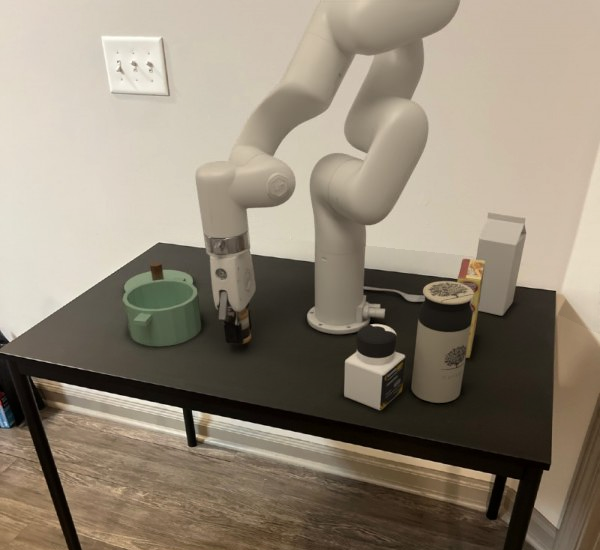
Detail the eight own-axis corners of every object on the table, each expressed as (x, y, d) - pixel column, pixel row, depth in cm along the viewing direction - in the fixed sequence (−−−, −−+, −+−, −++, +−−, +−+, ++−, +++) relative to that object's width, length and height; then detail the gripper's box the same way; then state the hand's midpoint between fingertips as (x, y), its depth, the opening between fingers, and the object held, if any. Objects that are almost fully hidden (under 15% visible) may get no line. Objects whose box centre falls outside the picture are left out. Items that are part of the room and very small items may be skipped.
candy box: (470, 359, 109) (483, 279, 100) (446, 356, 110) (457, 276, 101) (474, 336, 116) (486, 259, 107) (451, 333, 117) (462, 257, 108)
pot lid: (203, 277, 141) (200, 253, 138) (178, 305, 129) (174, 280, 125) (142, 272, 144) (138, 248, 140) (113, 299, 132) (107, 274, 128)
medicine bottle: (380, 412, 96) (385, 346, 89) (343, 397, 100) (344, 332, 93) (402, 391, 101) (408, 327, 94) (366, 377, 104) (369, 315, 97)
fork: (337, 281, 137) (337, 274, 136) (442, 301, 128) (443, 293, 127) (331, 286, 135) (331, 279, 134) (437, 307, 126) (438, 299, 125)
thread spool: (254, 333, 114) (251, 306, 110) (247, 345, 110) (244, 318, 107) (231, 331, 115) (228, 305, 111) (224, 343, 111) (220, 316, 108)
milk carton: (502, 316, 122) (520, 223, 111) (468, 309, 125) (482, 217, 114) (512, 303, 127) (530, 213, 116) (479, 296, 130) (493, 207, 119)
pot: (215, 310, 127) (211, 276, 122) (180, 357, 111) (175, 320, 107) (153, 304, 129) (147, 271, 125) (110, 349, 114) (102, 313, 109)
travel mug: (403, 381, 103) (413, 283, 93) (447, 374, 105) (461, 277, 94) (422, 407, 97) (434, 305, 86) (468, 400, 98) (485, 298, 88)
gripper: (233, 262, 94) (245, 361, 105) (262, 223, 107) (270, 315, 118) (188, 260, 96) (204, 358, 106) (222, 222, 109) (233, 313, 120)
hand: (239, 334), depth 112 cm, fingers closed on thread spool, 4 cm apart
